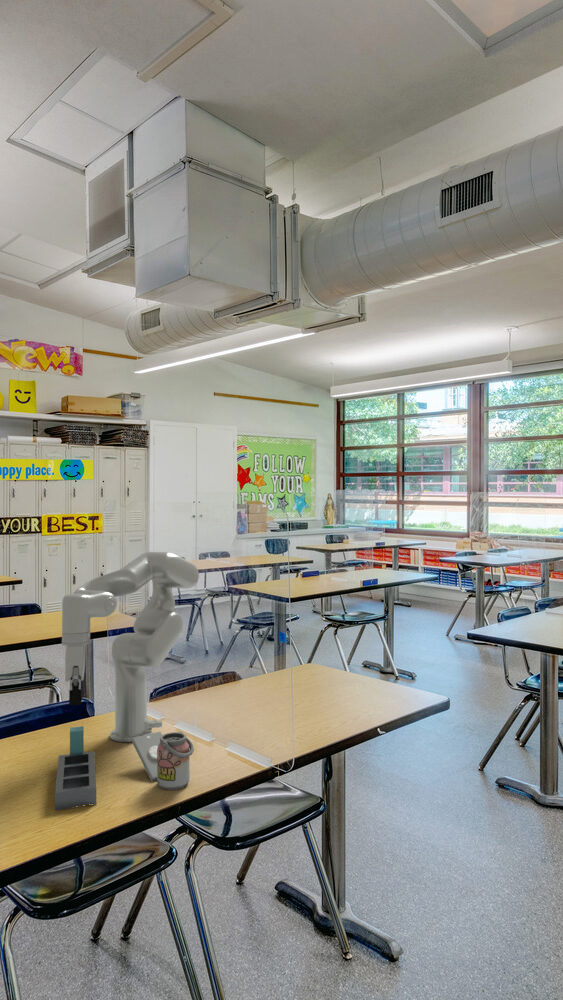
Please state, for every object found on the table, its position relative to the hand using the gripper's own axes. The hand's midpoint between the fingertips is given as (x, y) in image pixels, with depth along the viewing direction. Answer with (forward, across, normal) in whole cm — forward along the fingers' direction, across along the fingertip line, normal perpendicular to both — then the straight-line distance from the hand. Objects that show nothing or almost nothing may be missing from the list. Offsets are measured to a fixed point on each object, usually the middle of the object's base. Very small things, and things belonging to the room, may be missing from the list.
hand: (75, 699), depth 175 cm
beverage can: (+17, +24, +24) cm, 38 cm away
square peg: (+17, 0, 0) cm, 17 cm away
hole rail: (+17, +16, 0) cm, 24 cm away
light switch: (+17, +13, +21) cm, 30 cm away
